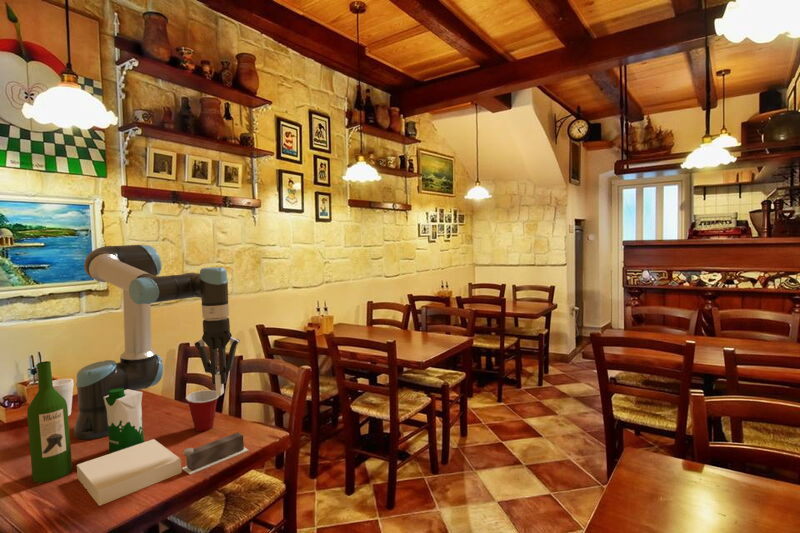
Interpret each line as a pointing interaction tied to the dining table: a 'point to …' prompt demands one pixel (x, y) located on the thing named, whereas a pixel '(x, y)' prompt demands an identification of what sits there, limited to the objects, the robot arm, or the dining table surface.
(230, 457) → the mat
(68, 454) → the wine bottle
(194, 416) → the plastic cup
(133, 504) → the dining table surface
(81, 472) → the cream flat square box
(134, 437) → the milk carton
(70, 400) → the foam cup
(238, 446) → the dark grey block
